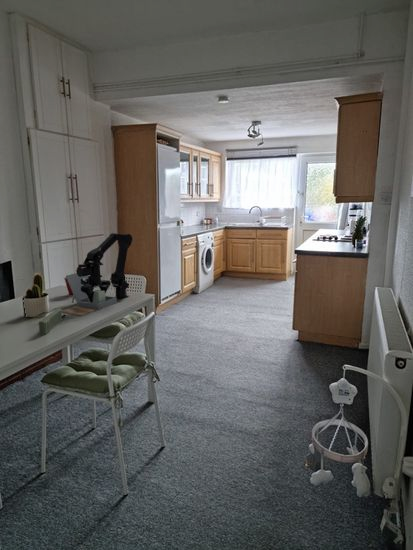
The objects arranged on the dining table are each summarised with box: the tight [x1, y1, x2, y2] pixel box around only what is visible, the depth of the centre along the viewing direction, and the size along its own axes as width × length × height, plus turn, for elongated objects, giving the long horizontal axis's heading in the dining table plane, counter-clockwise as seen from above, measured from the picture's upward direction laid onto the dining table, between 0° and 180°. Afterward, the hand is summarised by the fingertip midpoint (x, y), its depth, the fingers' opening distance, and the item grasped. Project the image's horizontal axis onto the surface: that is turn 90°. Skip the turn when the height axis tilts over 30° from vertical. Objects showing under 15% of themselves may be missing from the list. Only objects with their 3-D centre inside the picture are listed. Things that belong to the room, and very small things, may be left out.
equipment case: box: [65, 272, 118, 311], centre depth 213 cm, size 16×23×17 cm
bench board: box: [62, 305, 97, 317], centre depth 200 cm, size 11×15×1 cm
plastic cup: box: [63, 276, 73, 297], centre depth 234 cm, size 11×11×12 cm
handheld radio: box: [38, 307, 67, 336], centre depth 178 cm, size 7×3×25 cm
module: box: [88, 288, 106, 304], centre depth 212 cm, size 5×8×8 cm, turn 64°
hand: (97, 300), depth 213 cm, fingers open, 9 cm apart
